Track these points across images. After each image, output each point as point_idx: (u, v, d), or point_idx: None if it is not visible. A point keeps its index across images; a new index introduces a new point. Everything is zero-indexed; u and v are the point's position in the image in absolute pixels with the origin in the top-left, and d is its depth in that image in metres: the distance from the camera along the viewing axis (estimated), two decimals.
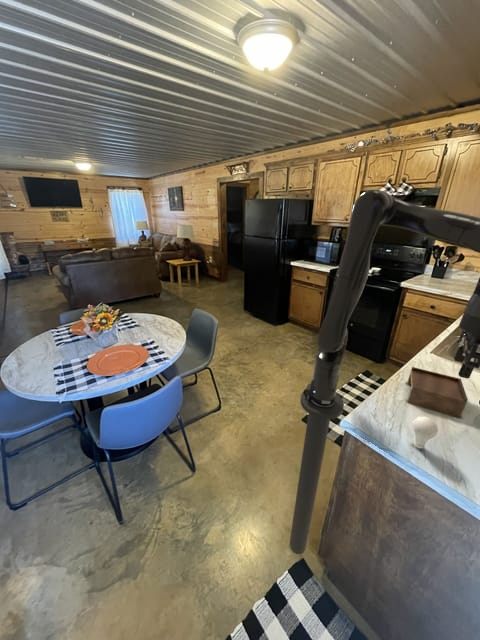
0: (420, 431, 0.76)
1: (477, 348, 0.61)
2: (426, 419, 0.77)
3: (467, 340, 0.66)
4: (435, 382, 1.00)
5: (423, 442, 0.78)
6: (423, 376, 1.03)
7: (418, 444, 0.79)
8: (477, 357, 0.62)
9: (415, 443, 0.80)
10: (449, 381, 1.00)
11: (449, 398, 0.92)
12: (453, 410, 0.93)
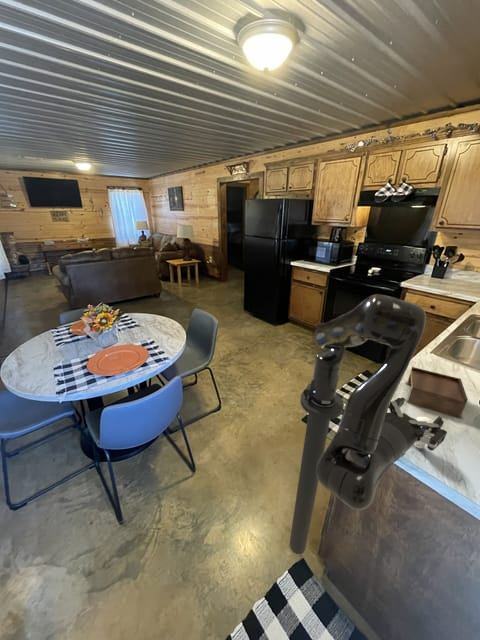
0: None
1: None
2: (426, 419, 0.77)
3: (396, 415, 0.63)
4: (435, 382, 1.00)
5: (423, 442, 0.78)
6: (423, 376, 1.03)
7: (418, 444, 0.79)
8: None
9: (415, 443, 0.80)
10: (449, 381, 1.00)
11: (449, 398, 0.92)
12: (453, 410, 0.93)
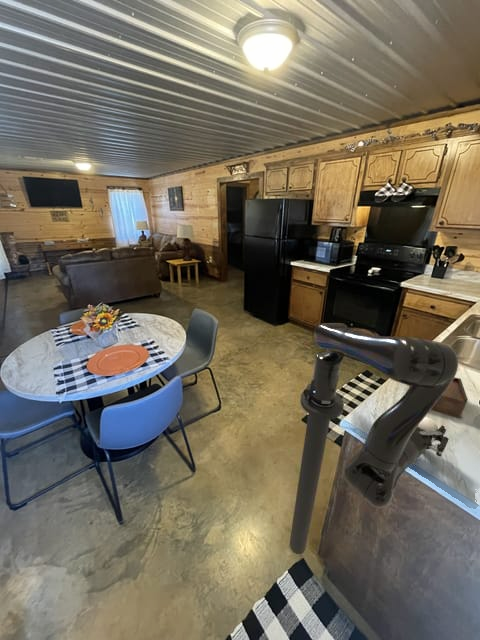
0: None
1: None
2: (426, 419, 0.77)
3: None
4: None
5: None
6: None
7: None
8: None
9: None
10: None
11: (449, 398, 0.92)
12: (453, 410, 0.93)
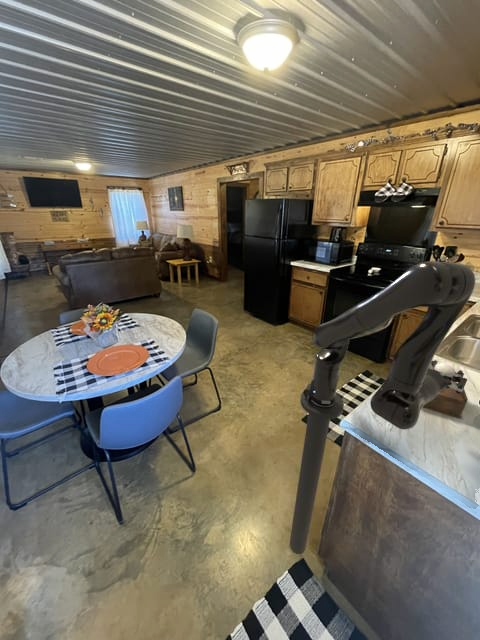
0: None
1: None
2: (445, 364, 0.80)
3: None
4: None
5: None
6: None
7: None
8: None
9: None
10: None
11: (449, 398, 0.92)
12: (453, 410, 0.93)
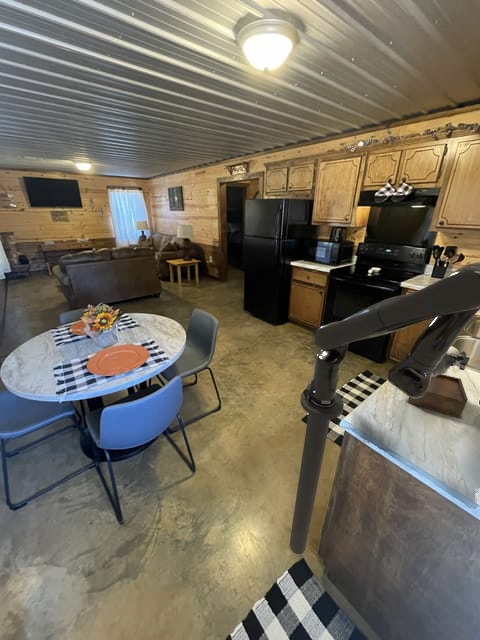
0: None
1: None
2: None
3: None
4: (435, 382, 1.00)
5: None
6: None
7: None
8: None
9: None
10: (449, 381, 1.00)
11: (449, 398, 0.92)
12: (453, 410, 0.93)
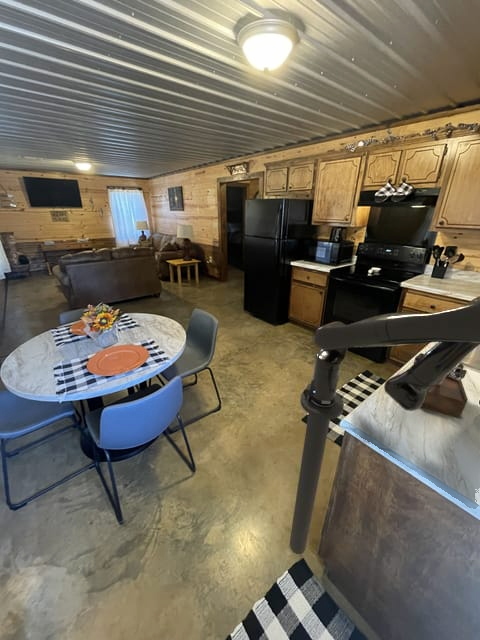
0: None
1: (415, 358, 0.96)
2: None
3: None
4: None
5: None
6: None
7: None
8: None
9: None
10: (449, 381, 1.00)
11: (449, 398, 0.92)
12: (453, 410, 0.93)
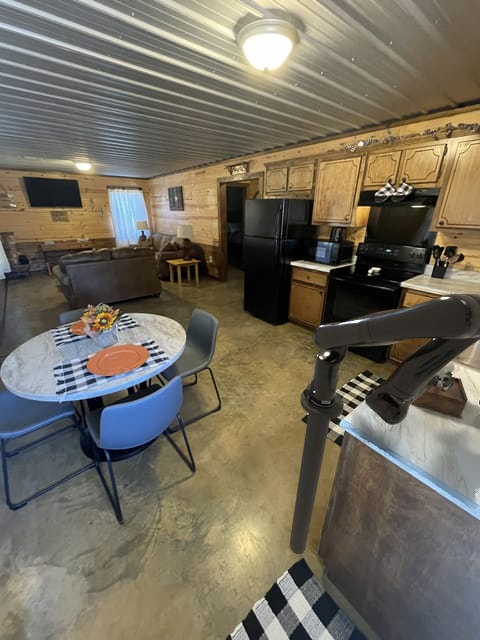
0: None
1: None
2: None
3: None
4: None
5: (442, 378, 0.96)
6: None
7: None
8: None
9: None
10: None
11: (449, 398, 0.92)
12: (453, 410, 0.93)
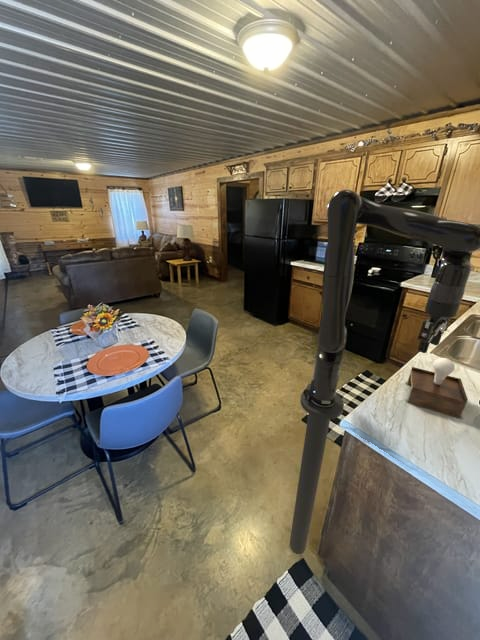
0: (440, 368, 0.94)
1: (425, 324, 0.74)
2: (445, 359, 0.94)
3: (428, 320, 0.78)
4: None
5: (442, 378, 0.96)
6: (423, 376, 1.03)
7: (437, 381, 0.97)
8: (425, 332, 0.74)
9: (435, 381, 0.98)
10: (449, 381, 1.00)
11: (449, 398, 0.92)
12: (453, 410, 0.93)
